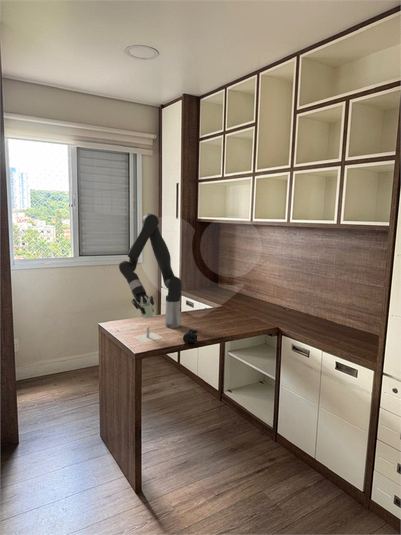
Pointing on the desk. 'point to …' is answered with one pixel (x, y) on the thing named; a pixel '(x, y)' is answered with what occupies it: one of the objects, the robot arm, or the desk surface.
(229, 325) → the desk surface
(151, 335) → the peg stand
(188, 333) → the end cap
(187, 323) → the desk surface
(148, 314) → the sleeve
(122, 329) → the mat
